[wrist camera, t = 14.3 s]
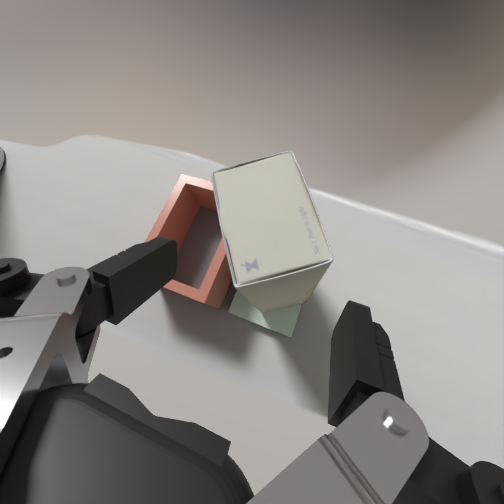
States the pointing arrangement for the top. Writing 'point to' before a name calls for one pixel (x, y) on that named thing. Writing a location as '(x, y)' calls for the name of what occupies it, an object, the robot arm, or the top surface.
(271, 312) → the pad
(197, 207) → the bin
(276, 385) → the top surface
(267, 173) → the skincare box
